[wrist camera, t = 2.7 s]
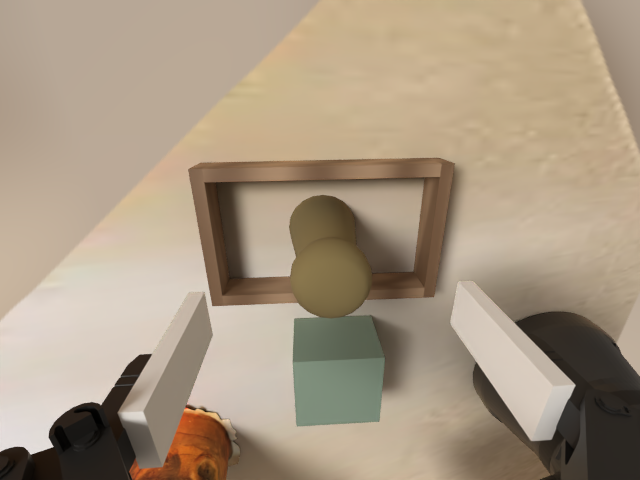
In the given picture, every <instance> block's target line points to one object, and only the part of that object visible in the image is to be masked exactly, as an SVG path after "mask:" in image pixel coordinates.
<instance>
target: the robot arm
mask: <svg viewBox="0 0 640 480" xmlns="http://www.w3.org/2000/svg"><path fill="white" fill-rule="evenodd" d="M450 324H451V326H452V327H453V329H454V330H455V331H456V333H457V334H458V336H459V337H460V339H461V340H462V342H463V343H464V344H465V346H466V347H467V349H468V350H469V352H470V353H471V355H472V356H473V358H474V359H475V360H476V364H475V368H474V372H473V383H474V387H475V390H476V392H477V394H478V395H479V397H480V398H481V400H482V402H483V403H484V405H485V406H486V408H487V409H488V411H489V412H490V413H491V414H492V415H493V416H494V417H495V418H497V419H498V420H499V421H500V422H502V423H504V424H505V425H506V426H507V427H508V428H509V429H510V430H511V431H512V432H513V433H514V434H515V435H516V436H517V437H518V438H519V439H520V440H521V441H522V442H524V443H525V444H526V445H527V446H528V447H529V448H530V449H531V450H532V451H533V452H534V453H535V454H536V455H537V456H538V457H539V459H540V460H541V461H542V463H543V464H544V466H545V467H546V469H547V470H548V472H549V473H550V475H551V476H548V477H545V478H543V479H540V480H640V376H639V375H638V374H637V373H636V371H635V370H634V369H633V368H632V367H631V365H630V364H629V363H628V362H627V360H626V359H625V358H624V357H623V355H622V354H621V352H620V349H619V347H618V346H617V345H616V343H615V341H614V340H613V339H612V338H611V337H610V336H609V335H608V334H607V333H606V332H605V331H603V330H602V329H601V328H599V327H598V326H596V325H595V324H594V323H592V322H591V321H590V320H588V319H586V318H585V317H583V316H580V315H577V314H573V313H567V312H550V313H543V314H539V315H535V316H531V317H528V318H526V319H523V320H521V321H519V322H517V323H514V322H513V321H512V320H511V319H510V318H509V317H508V316H507V315H506V314H505V313H504V312H503V311H502V310H501V309H500V308H499V307H498V306H497V305H496V304H495V303H494V302H493V301H492V300H491V299H490V298H489V297H488V296H487V295H486V294H485V293H484V292H483V291H482V290H481V289H480V288H479V287H478V286H477V285H476V284H475V283H474V282H473V281H458V285H457V290H456V295H455V300H454V305H453V311H452V316H451V321H450ZM212 336H213V334H212V329H211V324H210V319H209V314H208V308H207V303H206V298H205V293H204V292H192V293H188V295H187V297H186V298H185V300H184V302H183V303H182V305H181V307H180V308H179V310H178V312H177V313H176V315H175V317H174V319H173V320H172V322H171V324H170V325H169V327H168V329H167V330H166V332H165V334H164V335H163V337H162V339H161V340H160V342H159V344H158V346H157V347H156V349H155V351H154V352H153V354H144V355H139V356H138V357H136V358H135V359H134V360H133V361H132V362H131V363H129V364H128V366H127V367H126V369H125V370H124V372H123V373H122V375H121V378H119V379H118V381H117V382H116V384H115V387H113V388H112V390H111V391H110V393H109V394H108V396H107V397H106V399H105V400H104V402H103V403H102V405H100V404H98V403H93V402H90V403H84V404H81V405H78V406H76V407H73V408H72V409H70V410H69V411H67V412H65V413H64V414H63V415H62V416H60V417H59V418H58V419H57V420H56V421H55V422H54V424H53V425H52V427H51V429H50V431H49V439H50V441H51V443H52V444H53V446H54V447H53V448H50V449H47V450H44V451H41V452H38V453H35V454H32V455H30V453H29V452H28V451H27V450H26V449H25V448H24V447H13V448H9V449H5V450H3V451H1V452H0V480H133V479H132V477H131V474H130V472H129V471H130V469H131V467H132V465H133V463H134V460H135V458H136V461H137V463H138V466H139V468H140V469H144V468H158V467H163V465H164V462H165V459H166V457H167V454H168V452H169V449H170V446H171V444H172V441H173V438H174V436H175V433H176V430H177V428H178V425H179V423H180V420H181V417H182V415H183V412H184V409H185V407H186V404H187V402H188V399H189V396H190V394H191V391H192V388H193V386H194V383H195V380H196V378H197V375H198V373H199V370H200V367H201V365H202V362H203V359H204V357H205V354H206V351H207V349H208V346H209V344H210V341H211V338H212Z"/></svg>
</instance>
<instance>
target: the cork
mask: <svg viewBox="0 0 640 480" xmlns="http://www.w3.org/2000/svg"><path fill="white" fill-rule="evenodd" d="M289 229H290V234H291V239H292V243H293V246H294V250H295V254H296V259H295V260H294V262H293V264H292V269H291V275H290V283H291V288H292V292H293V294H294V296H295V298H296V300H297V301H298V303H299V304H300V305H301V306H302V307H303V308H304V309H305V310H307V311H308V312H310V313H312V314H314V315H316V316H319V317H323V318H331V319H332V318H339V317H343V316H346V315H348V314H350V313H352V312H354V311H355V310H356V309H358V308H359V307H360V306H361V305H362V304H363V302H364V301H365V300H366V298H367V297H368V295H369V292H370V289H371V285H372V272H371V267H370V265H369V263H368V261H367V258H366V256H365V254H364V253H363V252H362V251H361V250H360V249H359V248H358V247H357V244H356V232H355V221H354V216H353V214H352V212H351V210H350V208H349V207H348V206H347V205H346V204H345V203H344V202H343V201H341V200H339V199H337V198H335V197H332V196H326V195H320V196H313V197H311V198H309V199H306V200H304V201H303V202H302V203H301V204H300V205H298V206H297V207H296V208H295V210H294V212H293V214H292V216H291V219H290V225H289Z"/></svg>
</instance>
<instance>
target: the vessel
mask: <svg viewBox="0 0 640 480" xmlns="http://www.w3.org/2000/svg"><path fill="white" fill-rule="evenodd" d="M235 434H236V430H235V429H232V426H231V424H230V419H224V420H220V418H219V416H218V415H217V414H216V413H211V412H204V411H203V410H200V409H196V410H195V411H194V410H191V409H188V408H186V407H185V409H184V412H183V415H182V417H181V420H180V423H179V425H178V428H177V430H176V433H175V436H174V438H173V441H172V444H171V446H170V449H169V452H168V454H167V457H166V459H165V462H164V465H163V467H158V468H144V469H140V468H139V466H138V463H137V461H136V458H135V460H134V463H133V465H132V467H131V469H130V471H129V472H130V474H131V477H132V479H133V480H226V475H227V468H228V466H232V465H235V464H238V461H239V457H240V448H239V446H238V445H237V444H235V443H234V442H233V441H232V440H236V439H238V438H237V437H236V436H235Z"/></svg>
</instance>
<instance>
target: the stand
mask: <svg viewBox="0 0 640 480" xmlns="http://www.w3.org/2000/svg"><path fill="white" fill-rule="evenodd" d="M384 364H385V356H384V353H383V350H382V347H381V344H380V341H379V338H378V335H377V332H376V329H375V326H374V323H373V320H372V317H371V315H369V316H346V317H339V318H332V319H331V318H300V319H294V342H293V375H294V391H295V407H296V424H297V426H312V425H329V424H346V423H363V422H379V420H380V409H381V398H382V387H383V375H384Z"/></svg>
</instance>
